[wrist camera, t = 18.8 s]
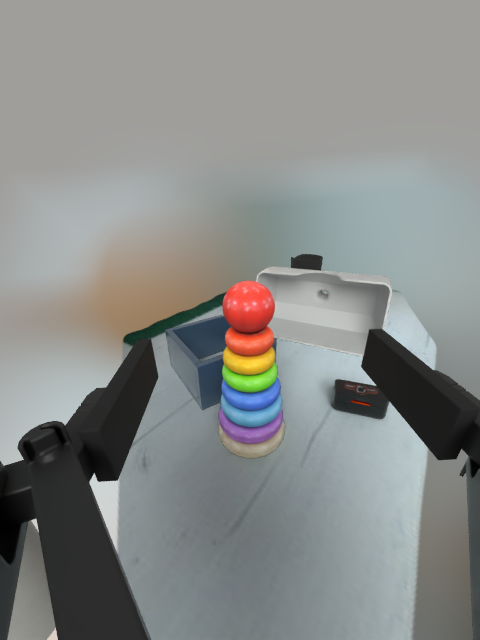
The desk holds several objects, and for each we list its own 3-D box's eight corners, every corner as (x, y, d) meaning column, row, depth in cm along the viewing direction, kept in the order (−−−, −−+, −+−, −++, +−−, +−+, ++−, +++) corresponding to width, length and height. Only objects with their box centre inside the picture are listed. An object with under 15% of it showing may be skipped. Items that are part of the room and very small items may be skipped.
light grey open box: (379, 323, 57) (392, 268, 52) (378, 359, 44) (394, 291, 39) (274, 307, 68) (276, 260, 63) (248, 332, 55) (248, 275, 50)
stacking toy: (297, 430, 31) (311, 281, 23) (254, 477, 26) (254, 305, 18) (248, 399, 36) (247, 269, 28) (205, 434, 31) (188, 285, 23)
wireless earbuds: (392, 424, 32) (398, 403, 30) (331, 410, 34) (334, 391, 32) (386, 399, 35) (391, 380, 34) (332, 388, 38) (335, 370, 36)
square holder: (171, 365, 44) (165, 329, 41) (233, 344, 50) (232, 311, 48) (202, 410, 34) (197, 367, 31) (275, 377, 41) (276, 338, 38)
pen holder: (323, 292, 78) (327, 259, 74) (293, 293, 78) (295, 260, 73) (313, 283, 87) (316, 253, 83) (286, 284, 86) (287, 254, 82)
